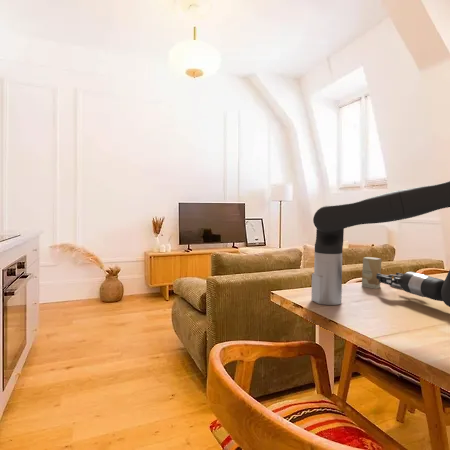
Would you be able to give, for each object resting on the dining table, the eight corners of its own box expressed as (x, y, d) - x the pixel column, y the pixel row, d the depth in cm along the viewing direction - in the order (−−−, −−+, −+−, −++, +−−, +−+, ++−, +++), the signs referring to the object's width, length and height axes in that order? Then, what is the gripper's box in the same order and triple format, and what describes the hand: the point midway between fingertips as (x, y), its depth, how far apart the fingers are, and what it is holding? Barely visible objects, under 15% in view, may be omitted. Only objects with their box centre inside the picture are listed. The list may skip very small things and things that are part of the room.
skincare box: (361, 286, 143) (361, 257, 142) (365, 285, 146) (366, 256, 145) (377, 289, 138) (377, 259, 138) (381, 287, 141) (381, 258, 141)
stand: (403, 290, 136) (403, 285, 136) (383, 284, 148) (383, 279, 148) (429, 289, 139) (429, 284, 138) (407, 282, 150) (407, 278, 150)
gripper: (436, 272, 118) (403, 265, 134) (401, 274, 115) (370, 266, 131) (436, 294, 118) (402, 284, 134) (400, 296, 115) (370, 285, 131)
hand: (387, 275), depth 132 cm, fingers open, 8 cm apart
